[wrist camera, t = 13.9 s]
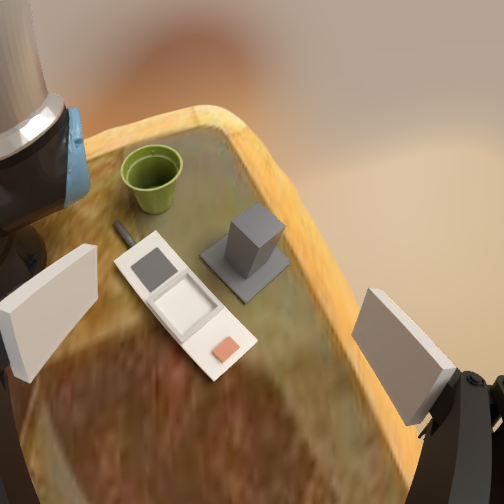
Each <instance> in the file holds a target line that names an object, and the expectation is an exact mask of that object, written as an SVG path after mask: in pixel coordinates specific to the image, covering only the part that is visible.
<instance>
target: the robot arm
mask: <svg viewBox="0 0 504 504" xmlns="http://www.w3.org/2000/svg"><path fill="white" fill-rule="evenodd" d="M89 189H90V177H89V171H88V165H87V160H86V154H85V148H84V141H83V135H82V126H81V118H80V111H79V109H78V108H77V107H73V108H72V107H69V108H68V109H66V107H65V103H64V100H63V98H62V97H61V96H60V95H58V94H55V93H52V92H49V91H47V88H46V84H45V80H44V76H43V72H42V68H41V64H40V58H39V54H38V49H37V44H36V38H35V32H34V26H33V20H32V12H31V3H30V0H0V504H40V502H39V499H38V497H37V494H36V492H35V489H34V486H33V484H32V481H31V478H30V475H29V472H28V469H27V466H26V463H25V460H24V457H23V453H22V450H21V446H20V442H19V438H18V434H17V430H16V426H15V421H14V416H13V411H12V406H11V400H10V393H9V387H8V379H7V375H6V372H5V368H6V367H7V366H8V365H9V363H10V366H11V368H12V371H13V374H14V376H15V377H17V378H19V379H21V380H23V381H26V382H28V383H31V382H32V380H33V379H34V378H35V376H36V375H37V374H38V372H39V371H40V370H41V368H42V367H43V366H44V364H45V363H46V362H47V360H48V359H49V358H50V356H51V355H52V354H53V352H54V351H55V350H56V349H57V347H58V346H59V345H60V344H61V342H62V341H63V340H64V339H65V337H66V336H67V335H68V334H69V332H70V331H71V330H72V329H73V327H74V326H75V325H76V324H77V323H78V321H79V320H80V319H81V318H82V317H83V316H84V314H85V313H86V312H87V311H88V310H89V308H90V307H91V306H92V305H93V304H94V303H95V302H96V300H97V299H98V285H97V246H95V245H89V244H82V245H81V246H79V247H77V248H76V249H74V250H73V251H71V252H70V253H68V254H67V255H65V256H64V257H62V258H61V259H59V260H58V261H56V262H55V263H53V264H52V265H50V266H49V267H47V268H46V269H45V267H46V260H47V254H46V247H45V243H44V241H43V239H42V237H41V236H40V235H39V233H38V232H37V231H36V230H35V229H34V228H33V227H32V226H31V225H29V224H31V223H33V222H35V221H37V220H39V219H41V218H43V217H46V216H48V215H50V214H52V213H54V212H57V211H59V210H61V209H65V208H67V206H68V205H70V204H72V203H74V202H76V201H78V200H80V199H82V198H84V196H86V194H87V193H88V192H89ZM351 335H352V337H353V338H354V340H355V341H356V343H357V345H358V346H359V348H360V349H361V351H362V353H363V354H364V356H365V357H366V359H367V361H368V362H369V364H370V366H371V367H372V369H373V371H374V372H375V374H376V376H377V377H378V379H379V381H380V382H381V384H382V386H383V387H384V389H385V391H386V392H387V394H388V396H389V397H390V399H391V401H392V403H393V404H394V406H395V408H396V409H397V411H398V413H399V415H400V416H401V418H402V420H403V422H404V423H405V425H406V426H410V425H415V424H419V423H421V422H422V421H423V419H424V418H425V416H426V415H427V414H428V412H429V413H430V414H431V416H432V419H431V420H430V422H429V423H428V424H427V426H426V427H425V428H424V430H423V431H422V432H421V433H420V435H419V436H418V438H421V436H422V435H424V434H426V435H425V438H424V439H423V440H424V443H423V447H422V451H421V455H420V458H419V462H418V465H417V469H416V472H415V475H414V478H413V481H412V484H411V487H410V490H409V493H408V496H407V499H406V501H405V504H504V375H500V376H498V377H497V379H496V381H495V382H494V384H493V385H487V384H486V382H485V380H484V379H483V378H482V377H481V376H479V375H478V374H476V373H474V372H471V371H464V372H460V370H459V369H458V368H457V367H456V366H455V365H454V364H453V363H452V361H451V360H450V359H449V358H448V357H447V356H446V355H445V354H444V353H443V352H442V351H441V350H440V349H439V347H438V346H437V345H436V344H435V343H434V342H433V341H432V340H431V339H430V338H429V337H428V336H427V335H426V334H425V333H424V332H423V331H422V330H421V329H420V328H419V327H418V326H417V325H416V324H415V323H414V322H413V321H412V320H411V319H410V318H409V317H408V316H407V315H406V314H405V313H404V312H403V311H402V310H401V309H400V308H399V307H398V306H397V305H396V304H395V303H394V302H393V301H392V300H391V299H390V298H389V297H388V296H387V295H386V294H385V293H384V292H383V291H382V290H381V289H373V288H368V290H367V293H366V296H365V299H364V302H363V305H362V307H361V310H360V313H359V316H358V319H357V321H356V324H355V327H354V329H353V332H352V334H351ZM501 417H502V420H503V422H502V424H501V425H500V426H499V428H498V429H497V430H496V431H495V432H493V429H492V428H493V427H494V425H495V424H496V423H497V421H498V420H499V419H500V418H501Z"/></svg>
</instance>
